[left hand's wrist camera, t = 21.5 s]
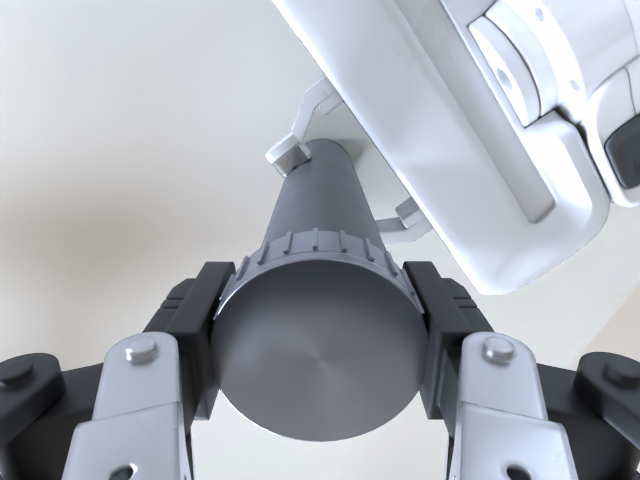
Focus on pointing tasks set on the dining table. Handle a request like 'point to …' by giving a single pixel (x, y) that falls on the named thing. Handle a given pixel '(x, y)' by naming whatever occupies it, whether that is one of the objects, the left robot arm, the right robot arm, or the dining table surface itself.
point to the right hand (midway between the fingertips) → (309, 207)
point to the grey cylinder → (323, 197)
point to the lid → (319, 337)
